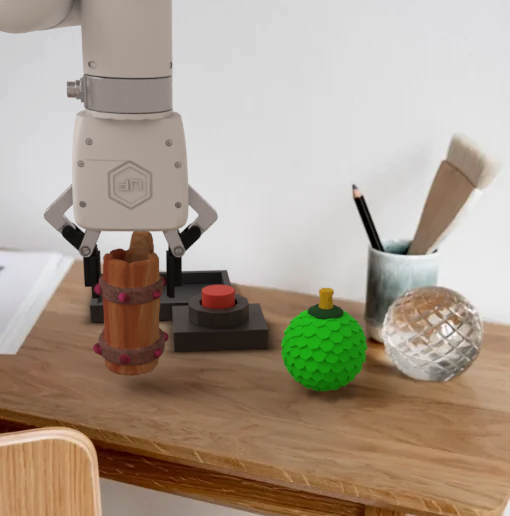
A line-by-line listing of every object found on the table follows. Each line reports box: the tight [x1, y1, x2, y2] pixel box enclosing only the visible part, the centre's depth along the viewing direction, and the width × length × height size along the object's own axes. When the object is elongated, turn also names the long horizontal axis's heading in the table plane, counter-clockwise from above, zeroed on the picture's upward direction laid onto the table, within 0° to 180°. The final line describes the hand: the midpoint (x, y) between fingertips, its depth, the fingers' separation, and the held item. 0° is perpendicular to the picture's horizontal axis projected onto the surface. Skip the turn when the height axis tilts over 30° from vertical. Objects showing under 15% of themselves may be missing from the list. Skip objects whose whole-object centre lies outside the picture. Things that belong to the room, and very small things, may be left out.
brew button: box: [202, 285, 236, 309], centre depth 91 cm, size 4×4×2 cm
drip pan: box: [89, 269, 232, 323], centre depth 102 cm, size 17×12×2 cm
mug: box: [92, 231, 169, 377], centre depth 80 cm, size 12×6×12 cm, turn 176°
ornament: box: [280, 287, 368, 392], centre depth 79 cm, size 8×8×10 cm
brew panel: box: [172, 293, 269, 353], centre depth 92 cm, size 10×8×4 cm
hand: (133, 291), depth 80 cm, fingers closed on mug, 6 cm apart
